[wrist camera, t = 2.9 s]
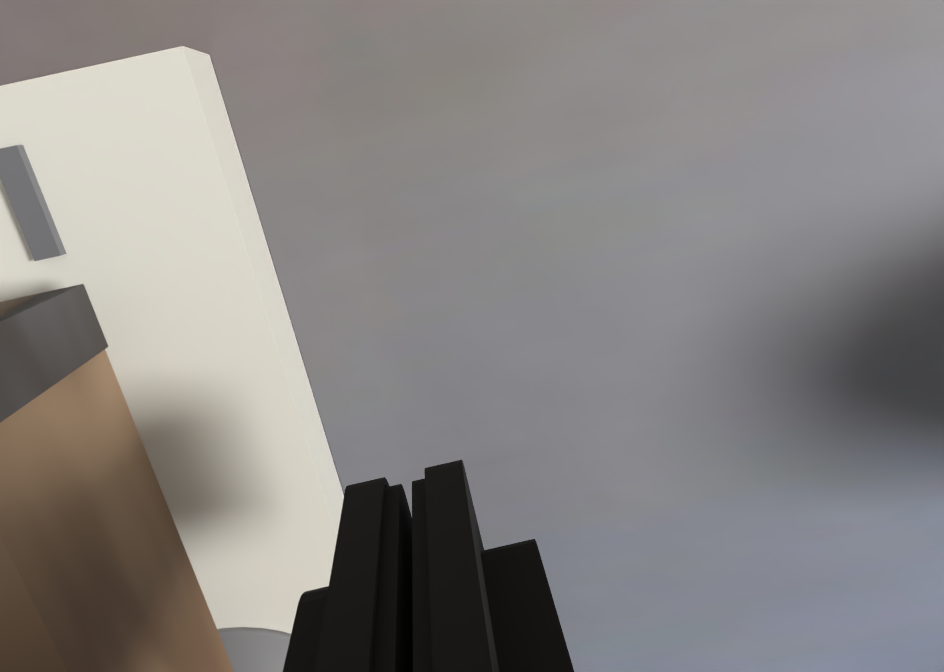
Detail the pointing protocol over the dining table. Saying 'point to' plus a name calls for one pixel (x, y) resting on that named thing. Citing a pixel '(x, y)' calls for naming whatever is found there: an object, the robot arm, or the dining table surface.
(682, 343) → the dining table surface
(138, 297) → the dial plate
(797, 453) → the dining table surface
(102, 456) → the walnut dial lever
